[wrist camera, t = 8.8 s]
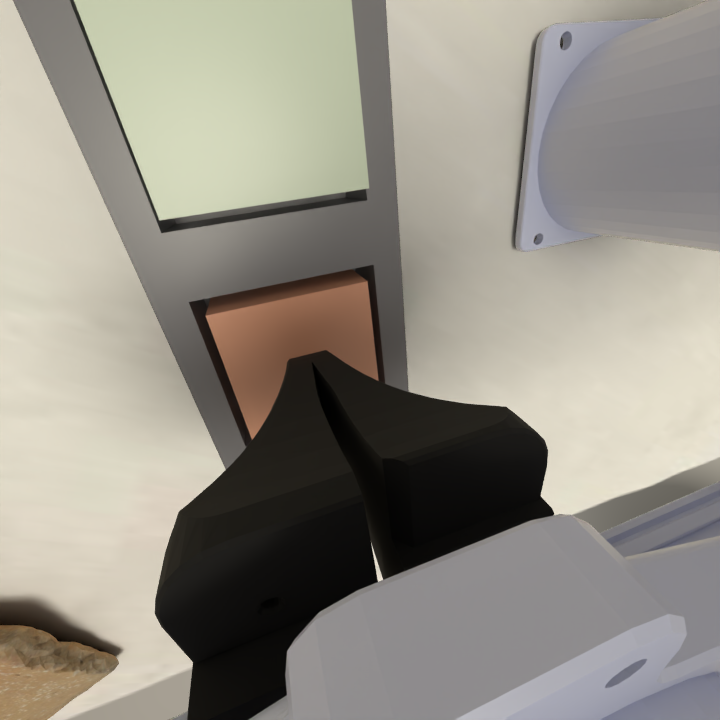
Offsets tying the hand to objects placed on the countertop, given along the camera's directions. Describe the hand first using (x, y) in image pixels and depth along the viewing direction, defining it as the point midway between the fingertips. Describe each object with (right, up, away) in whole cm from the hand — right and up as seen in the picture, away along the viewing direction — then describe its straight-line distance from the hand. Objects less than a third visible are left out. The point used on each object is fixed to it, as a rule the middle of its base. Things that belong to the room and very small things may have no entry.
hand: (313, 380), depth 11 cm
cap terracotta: (-1, +1, +3) cm, 4 cm away
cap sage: (-2, +8, -2) cm, 8 cm away
